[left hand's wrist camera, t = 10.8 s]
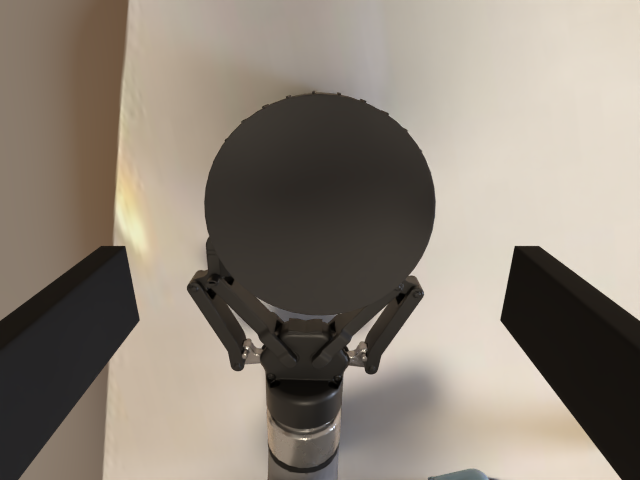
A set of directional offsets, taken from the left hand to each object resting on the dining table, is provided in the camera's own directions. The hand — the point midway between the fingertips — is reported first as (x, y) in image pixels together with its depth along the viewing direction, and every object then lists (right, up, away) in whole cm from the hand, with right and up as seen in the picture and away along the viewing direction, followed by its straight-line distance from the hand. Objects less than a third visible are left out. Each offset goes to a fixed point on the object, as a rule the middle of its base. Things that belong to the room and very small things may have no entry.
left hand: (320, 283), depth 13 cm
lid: (0, +3, +7) cm, 7 cm away
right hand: (-1, +5, +19) cm, 20 cm away
